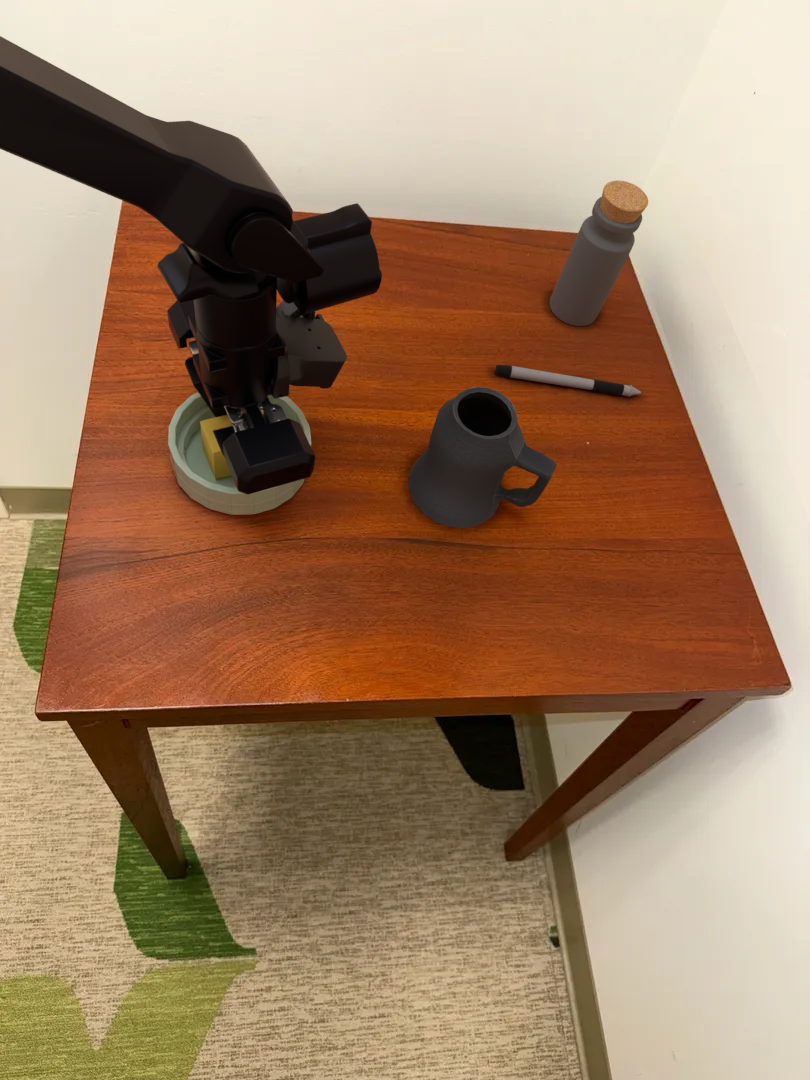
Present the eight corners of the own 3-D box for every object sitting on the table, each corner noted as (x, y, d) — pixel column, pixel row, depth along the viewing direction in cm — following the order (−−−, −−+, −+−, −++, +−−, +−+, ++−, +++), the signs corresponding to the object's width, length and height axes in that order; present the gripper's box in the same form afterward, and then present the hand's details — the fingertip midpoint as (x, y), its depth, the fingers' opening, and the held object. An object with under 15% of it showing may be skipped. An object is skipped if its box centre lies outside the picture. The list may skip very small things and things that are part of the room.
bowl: (196, 536, 66) (193, 510, 62) (155, 428, 71) (150, 399, 67) (327, 497, 70) (331, 471, 67) (280, 398, 75) (282, 369, 71)
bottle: (541, 311, 88) (590, 196, 75) (559, 283, 91) (609, 168, 78) (587, 334, 87) (644, 222, 74) (603, 305, 90) (661, 193, 77)
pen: (494, 369, 82) (497, 360, 81) (640, 392, 84) (645, 384, 83) (494, 378, 81) (497, 369, 80) (641, 401, 83) (646, 393, 82)
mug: (392, 500, 71) (413, 425, 62) (430, 434, 76) (456, 355, 66) (509, 557, 70) (549, 490, 61) (540, 487, 75) (582, 414, 65)
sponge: (215, 479, 68) (213, 453, 64) (202, 448, 69) (199, 420, 66) (279, 462, 70) (280, 435, 67) (266, 432, 71) (266, 404, 68)
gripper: (389, 391, 54) (363, 507, 68) (294, 219, 62) (288, 355, 75) (237, 429, 51) (242, 544, 64) (156, 241, 58) (175, 380, 71)
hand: (240, 449), depth 69 cm, fingers closed on sponge, 3 cm apart
